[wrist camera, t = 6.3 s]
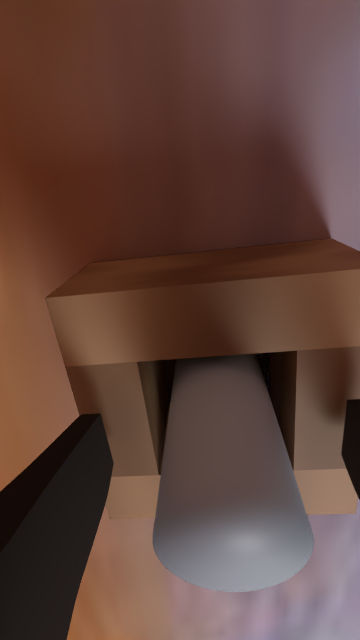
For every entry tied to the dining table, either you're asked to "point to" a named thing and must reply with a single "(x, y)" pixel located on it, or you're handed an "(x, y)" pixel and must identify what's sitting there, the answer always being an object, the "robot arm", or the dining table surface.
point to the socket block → (217, 353)
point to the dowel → (227, 482)
